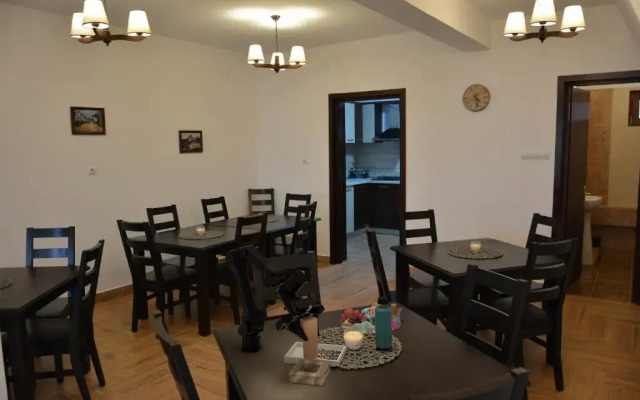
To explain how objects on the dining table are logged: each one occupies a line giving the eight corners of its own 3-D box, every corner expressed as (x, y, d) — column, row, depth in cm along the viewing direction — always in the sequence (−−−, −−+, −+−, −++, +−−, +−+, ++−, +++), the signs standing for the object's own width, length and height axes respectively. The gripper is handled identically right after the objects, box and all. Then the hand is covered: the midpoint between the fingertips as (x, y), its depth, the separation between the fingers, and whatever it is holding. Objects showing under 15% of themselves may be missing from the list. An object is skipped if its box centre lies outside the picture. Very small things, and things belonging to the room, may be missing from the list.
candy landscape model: (363, 312, 235) (363, 293, 234) (410, 322, 221) (410, 301, 220) (333, 329, 215) (333, 308, 214) (382, 340, 201) (382, 318, 200)
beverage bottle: (391, 352, 189) (391, 300, 187) (374, 351, 190) (373, 300, 188) (392, 345, 195) (392, 295, 193) (375, 344, 197) (374, 294, 194)
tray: (284, 363, 182) (284, 356, 182) (296, 347, 196) (296, 341, 195) (338, 368, 177) (338, 361, 177) (346, 352, 190) (346, 345, 190)
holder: (289, 382, 168) (288, 373, 167) (299, 367, 178) (299, 359, 178) (321, 385, 165) (321, 377, 164) (330, 370, 175) (329, 362, 175)
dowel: (301, 358, 169) (300, 321, 168) (305, 352, 174) (304, 316, 173) (316, 360, 168) (315, 322, 167) (319, 353, 173) (318, 317, 171)
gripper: (279, 293, 165) (303, 334, 158) (320, 281, 178) (344, 319, 171) (265, 311, 171) (287, 351, 165) (306, 298, 184) (328, 335, 178)
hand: (313, 338), depth 169 cm, fingers closed on dowel, 5 cm apart
